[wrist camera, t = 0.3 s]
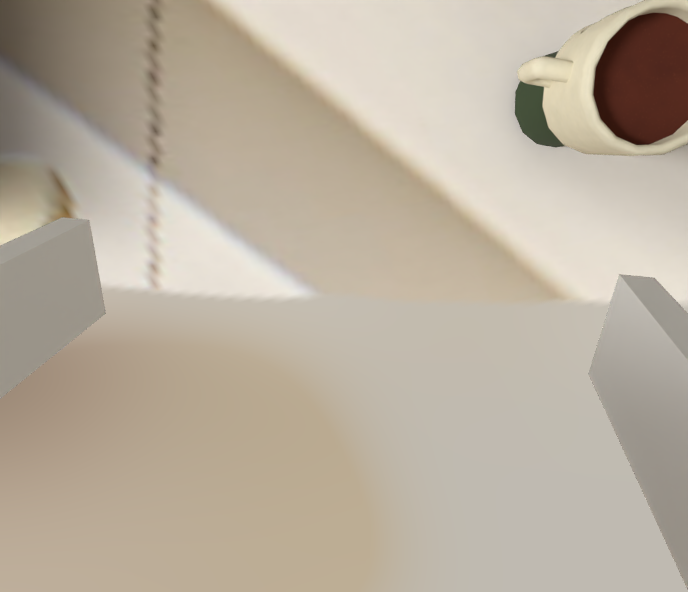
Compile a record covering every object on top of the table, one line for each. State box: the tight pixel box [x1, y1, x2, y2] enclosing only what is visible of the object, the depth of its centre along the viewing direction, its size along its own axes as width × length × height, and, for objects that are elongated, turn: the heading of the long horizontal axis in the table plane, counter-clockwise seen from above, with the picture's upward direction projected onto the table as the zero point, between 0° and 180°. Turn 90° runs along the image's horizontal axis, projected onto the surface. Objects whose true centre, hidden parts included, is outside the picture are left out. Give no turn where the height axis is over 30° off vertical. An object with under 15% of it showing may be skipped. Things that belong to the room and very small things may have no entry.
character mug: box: [515, 0, 688, 156], centre depth 30 cm, size 11×7×13 cm, turn 81°
